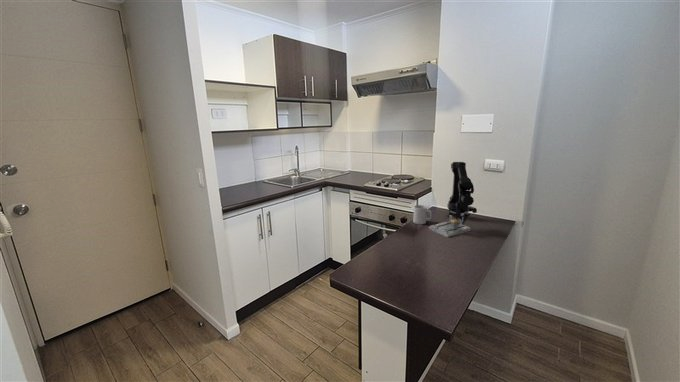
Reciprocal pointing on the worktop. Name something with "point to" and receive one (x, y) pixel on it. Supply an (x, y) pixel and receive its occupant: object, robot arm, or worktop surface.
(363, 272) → the worktop surface
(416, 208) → the mug
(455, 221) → the orange fader
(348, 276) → the worktop surface
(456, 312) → the worktop surface
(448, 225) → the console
